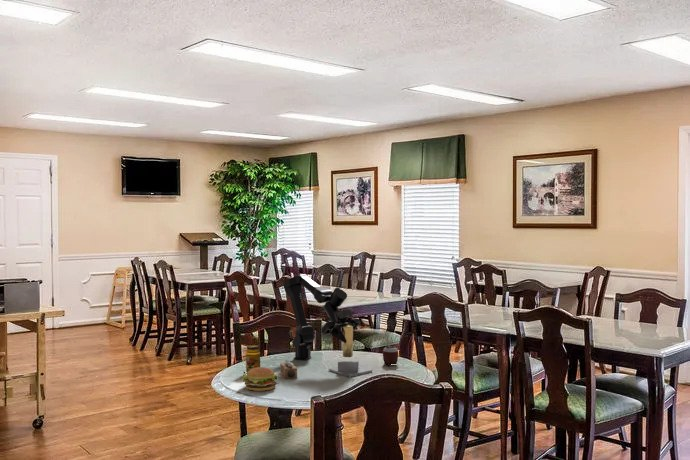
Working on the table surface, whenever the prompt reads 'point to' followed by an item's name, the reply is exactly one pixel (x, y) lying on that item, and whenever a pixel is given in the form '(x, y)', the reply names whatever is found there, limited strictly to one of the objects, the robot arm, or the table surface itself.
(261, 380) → the food
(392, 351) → the mate gourd
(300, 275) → the robot arm
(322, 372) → the table surface
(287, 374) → the beam
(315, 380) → the table surface
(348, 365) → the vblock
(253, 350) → the condiment
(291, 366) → the drift
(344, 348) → the tan cylinder
